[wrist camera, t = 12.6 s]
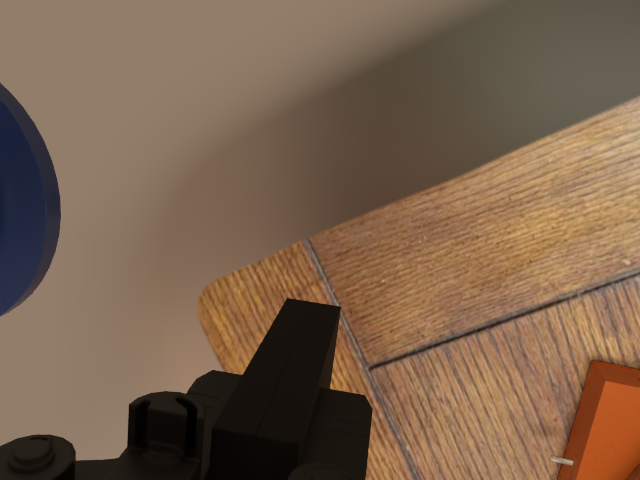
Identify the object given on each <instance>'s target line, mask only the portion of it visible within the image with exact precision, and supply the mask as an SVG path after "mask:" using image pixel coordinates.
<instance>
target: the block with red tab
mask: <svg viewBox="0 0 640 480" xmlns="http://www.w3.org/2000/svg"><path fill="white" fill-rule="evenodd" d="M627 480H640V464H639V466H638V467H637V468H636V469H635V470H634V471H633V473H632V474H631V475H630V476H629V477H628V478H627Z"/></svg>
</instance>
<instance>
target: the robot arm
mask: <svg viewBox="0 0 640 480" xmlns="http://www.w3.org/2000/svg"><path fill="white" fill-rule="evenodd" d="M340 310H341V307H339V306H333V305H327V304H320V303H314V302H308V301H302V300H296V299H290V298H287V299H286V301H285V303H284V305H283V306H282V308H281V310H280V311H279V313H278V315H277V317H276V318H275V320H274V322H273V324H272V325H271V327H270V329H269V331H268V332H267V334H266V336H265V337H264V339H263V341H262V343H261V344H260V346H259V348H258V350H257V351H256V353H255V355H254V356H253V358H252V360H251V362H250V363H249V365H248V367H247V369H246V370H245V372H244V374H243V375H238V374H232V373H227V372H221V371H215V370H212V371H210V372H208V373H207V374H205V375H203V376H201V377H199V378H197V379H196V380H195V382H194V383H193V384H192V386H191V387H190V388H189V390H188V392H187V393H186V394H184V393H181V392H168V391H164V392H156V393H150V394H147V395H145V396H142V397H139V398H137V399H136V400H134V401H133V402H132V403H130V404H129V418H128V419H129V420H128V444H127V445H128V446H127V448H126V449H125V450H124V452H123V453H122V454H121V456H120V457H119V458H116V459H107V460H81V461H75V460H76V459H75V458H76V457H75V455H76V452H75V449H74V447H73V445H72V443H70V442H69V441H67V440H66V439H64V438H62V437H57V436H53V435H31V436H27V437H22V438H18V439H15V440H13V441H11V442H9V443H6V444H4V445H2V446H0V480H365V478H366V468H367V458H368V449H369V439H370V429H371V419H372V407H371V405H370V404H369V402H368V400H367V399H366V397H365V395H360V394H354V393H349V392H343V391H338V390H332V389H330V383H331V376H332V368H333V361H334V354H335V346H336V339H337V332H338V324H339V317H340Z"/></svg>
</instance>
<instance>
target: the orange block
mask: <svg viewBox="0 0 640 480" xmlns="http://www.w3.org/2000/svg"><path fill="white" fill-rule="evenodd" d="M550 461H553V462H557V463H562V466H561V469H560V473H559V476H558V480H627V478H628V477H629V476H630V475H631V474H632V473H633V471H634V470H635V469H636V468H637V467H638V466H639V464H640V369H635V368H630V367H625V366H619V365H614V364H609V363H604V362H599V361H594V360H592V362H591V366H590V369H589V373H588V376H587V380H586V383H585V386H584V390H583V393H582V397H581V400H580V404H579V407H578V411H577V414H576V418H575V421H574V424H573V428H572V431H571V435H570V438H569V442H568V445H567V449H566V452H565V456H564V458H563V457H558V456H554V455H551V457H550Z"/></svg>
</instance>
